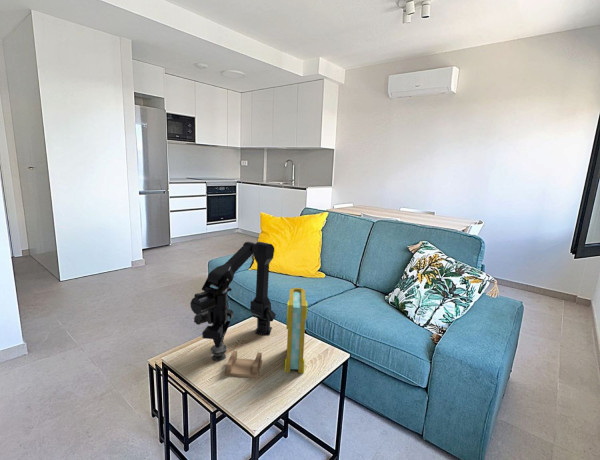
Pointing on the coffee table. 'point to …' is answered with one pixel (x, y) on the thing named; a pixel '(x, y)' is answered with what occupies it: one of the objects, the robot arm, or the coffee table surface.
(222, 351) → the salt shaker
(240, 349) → the coffee table surface
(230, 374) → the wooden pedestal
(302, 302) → the book
